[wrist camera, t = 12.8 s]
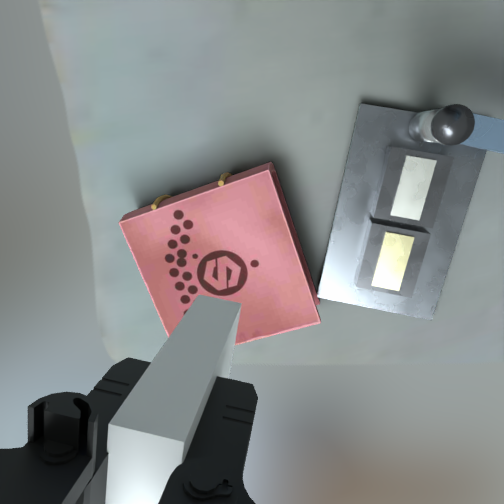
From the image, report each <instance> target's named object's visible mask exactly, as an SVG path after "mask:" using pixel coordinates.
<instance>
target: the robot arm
mask: <svg viewBox="0 0 504 504" xmlns="http://www.w3.org/2000/svg"><path fill="white" fill-rule="evenodd" d="M241 304H242V303H238V302H233V301H228V300H224V299H219V298H214V297H209V296H204V295H200V294H199V295H198V296H197V298H196V299H195V301H194V302H193V303H192V305H191V306H190V308H189V309H188V311H187V312H186V313H185V315H184V316H183V318H182V319H181V321H180V322H179V324H178V325H177V326H176V328H175V329H174V331H173V332H172V334H171V335H170V336H169V338H168V339H167V341H166V342H165V344H164V345H163V346H162V348H161V349H160V351H159V352H158V354H157V355H156V357H155V358H154V359H153V361H152V362H146V361H142V360H137V359H133V358H126V359H124V360H122V361H121V362H119V363H117V364H115V365H113V366H112V367H111V368H110V369H109V370H108V372H107V373H106V374H105V375H104V376H103V377H102V380H100V381H99V382H98V383H97V385H96V386H95V387H94V389H93V390H91V392H90V393H89V394H88V395H87V396H86V395H83V394H81V393H73V392H62V393H55V394H51V395H48V396H45V397H42V398H40V399H38V400H36V401H35V402H34V403H32V404H31V405H29V406H28V442H27V443H26V444H25V446H24V447H21V448H12V449H0V504H255V503H254V501H253V500H252V499H251V498H250V497H249V495H248V493H247V491H246V489H245V488H244V484H243V470H244V466H245V461H246V456H247V451H248V446H249V441H250V436H251V431H252V425H253V420H254V415H255V410H256V405H257V400H258V397H257V394H256V391H255V389H254V386H253V384H250V383H245V382H241V381H237V380H232V379H228V377H229V374H230V369H231V364H232V358H233V352H234V346H235V340H236V334H237V328H238V322H239V316H240V310H241Z"/></svg>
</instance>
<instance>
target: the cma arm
mask: <svg viewBox="0 0 504 504" xmlns="http://www.w3.org/2000/svg"><path fill="white" fill-rule="evenodd" d="M431 133H432V136H433V137H434V139H435V140H436V141H437V142H439V143H441V144H443V145H458V144H461V145H465V146H470V147H474V148H479V149H484V150H488V151H493V152H497V153H502V154H504V120H501V119H497V118H492V117H487V116H482V115H478V114H473V113H472V112H471V110H470V109H469V108H467V107H466V106H463V105H459V104H454V105H449V106H446V107H443V108H442V109H440V110H439V111H438V112H437V113H436V114H435V115H434V117H433V119H432V122H431Z"/></svg>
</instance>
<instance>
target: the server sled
mask: <svg viewBox="0 0 504 504" xmlns="http://www.w3.org/2000/svg"><path fill="white" fill-rule="evenodd" d="M440 109H442V108H440ZM440 109H435V110H429V111H424V112H420V113H417V112H411V111H405V110H398V109H392V108H386V107H380V106H374V105H367V104H360V105H359V109H358V113H357V118H356V122H355V127H354V131H353V136H352V140H351V145H350V149H349V153H348V158H347V162H346V167H345V171H344V176H343V180H342V184H341V189H340V193H339V198H338V202H337V207H336V211H335V215H334V220H333V224H332V229H331V233H330V238H329V242H328V246H327V251H326V255H325V260H324V264H323V269H322V273H321V278H320V282H319V286H318V291H317V297H320V298H324V299H329V300H334V301H339V302H344V303H349V304H354V305H359V306H364V307H369V308H374V309H378V310H383V311H388V312H393V313H398V314H403V315H408V316H413V317H418V318H423V319H428V320H432V318H433V314H434V311H435V308H436V305H437V302H438V299H439V296H440V293H441V290H442V287H443V284H444V280H445V277H446V274H447V271H448V268H449V265H450V262H451V259H452V256H453V253H454V249H455V246H456V243H457V240H458V237H459V234H460V231H461V228H462V225H463V222H464V219H465V215H466V212H467V209H468V206H469V203H470V200H471V197H472V194H473V191H474V188H475V184H476V181H477V178H478V175H479V172H480V169H481V166H482V163H483V160H484V157H485V154H486V150H484V149H479V148H474V147H470V146H465V145H461V144H458V145H443V144H441V143H439V142H437V141H436V140H435V139H434V137H433V136H432V133H431V122H432V119H433V117H434V115H435V114H436V113H437V112H438V111H439V110H440Z"/></svg>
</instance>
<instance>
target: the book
mask: <svg viewBox="0 0 504 504" xmlns="http://www.w3.org/2000/svg"><path fill="white" fill-rule="evenodd" d="M119 225H120V227H121V230H122V232H123V234H124V236H125V239H126V241H127V243H128V246H129V248H130V250H131V253H132V255H133V257H134V259H135V262H136V264H137V266H138V269H139V271H140V273H141V276H142V278H143V280H144V282H145V285H146V287H147V289H148V292H149V294H150V296H151V298H152V301H153V303H154V305H155V308H156V310H157V312H158V315H159V317H160V319H161V321H162V324H163V326H164V328H165V331H166V333H167V335H168V338H169V336H170V335H171V334H172V332H173V331H174V329H175V328H176V326H177V325H178V324H179V322H180V321H181V319H182V318H183V316H184V315H185V313H186V312H187V311H188V309H189V308H190V306H191V305H192V303H193V302H194V301H195V299H196V298H197V296H198V295H199V294H200V295H204V296H209V297H214V298H219V299H224V300H228V301H233V302H238V303H242V304H241V310H240V316H239V322H238V328H237V334H236V340H235V345H238V344H242V343H246V342H250V341H253V340H257V339H261V338H265V337H269V336H273V335H277V334H280V333H284V332H288V331H292V330H296V329H300V328H304V327H308V326H311V325H315V324H319V323H321V319H320V316H319V313H318V310H317V307H316V305H319V304H320V301H319V298H318V297H317V292H316V290H315V287H314V284H313V281H312V278H311V275H310V272H309V269H308V266H307V263H306V260H305V257H304V254H303V251H302V248H301V245H300V242H299V239H298V236H297V233H296V230H295V227H294V224H293V221H292V218H291V215H290V212H289V209H288V206H287V203H286V200H285V197H284V194H283V191H282V188H281V185H280V182H279V179H278V176H277V173H276V171H275V168H274V165H273V163H272V162H269V163H266V164H263V165H260V166H258V167H255V168H252V169H249V170H246V171H244V172H241V173H238V174H235V175H232V174H230V173H228V172H226V173H224V174H222V175H221V177H220V179H219V180H218V181H216V182H213V183H210V184H207V185H204V186H202V187H199V188H196V189H193V190H190V191H188V192H185V193H182V194H179V195H176V196H174V197H172V196H170V195H162V196H160V197H158V198H156V200H155V201H154V203H153V204H151V205H148V206H145V207H143V208H140V209H137V210H134V211H132V212H129V213H127V214H125V215H124V216H123V217H122V219H121V220H120V221H119Z"/></svg>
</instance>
